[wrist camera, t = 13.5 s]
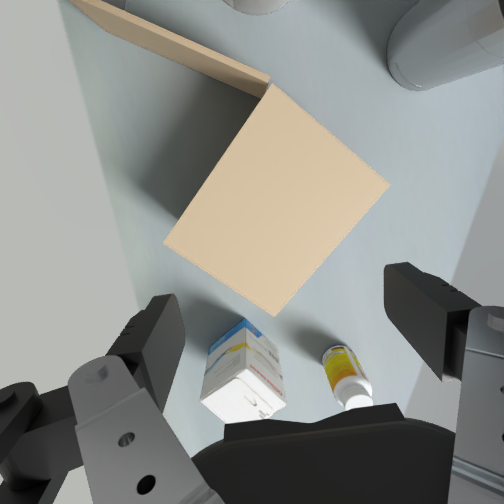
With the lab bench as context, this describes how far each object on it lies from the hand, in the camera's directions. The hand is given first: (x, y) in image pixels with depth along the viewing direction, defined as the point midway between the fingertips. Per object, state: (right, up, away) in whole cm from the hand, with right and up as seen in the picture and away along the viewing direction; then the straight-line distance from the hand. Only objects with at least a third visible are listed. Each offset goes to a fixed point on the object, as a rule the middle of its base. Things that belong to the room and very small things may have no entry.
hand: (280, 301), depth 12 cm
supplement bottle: (+14, -16, +40) cm, 45 cm away
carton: (+1, +9, +31) cm, 32 cm away
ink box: (-2, -14, +39) cm, 42 cm away
